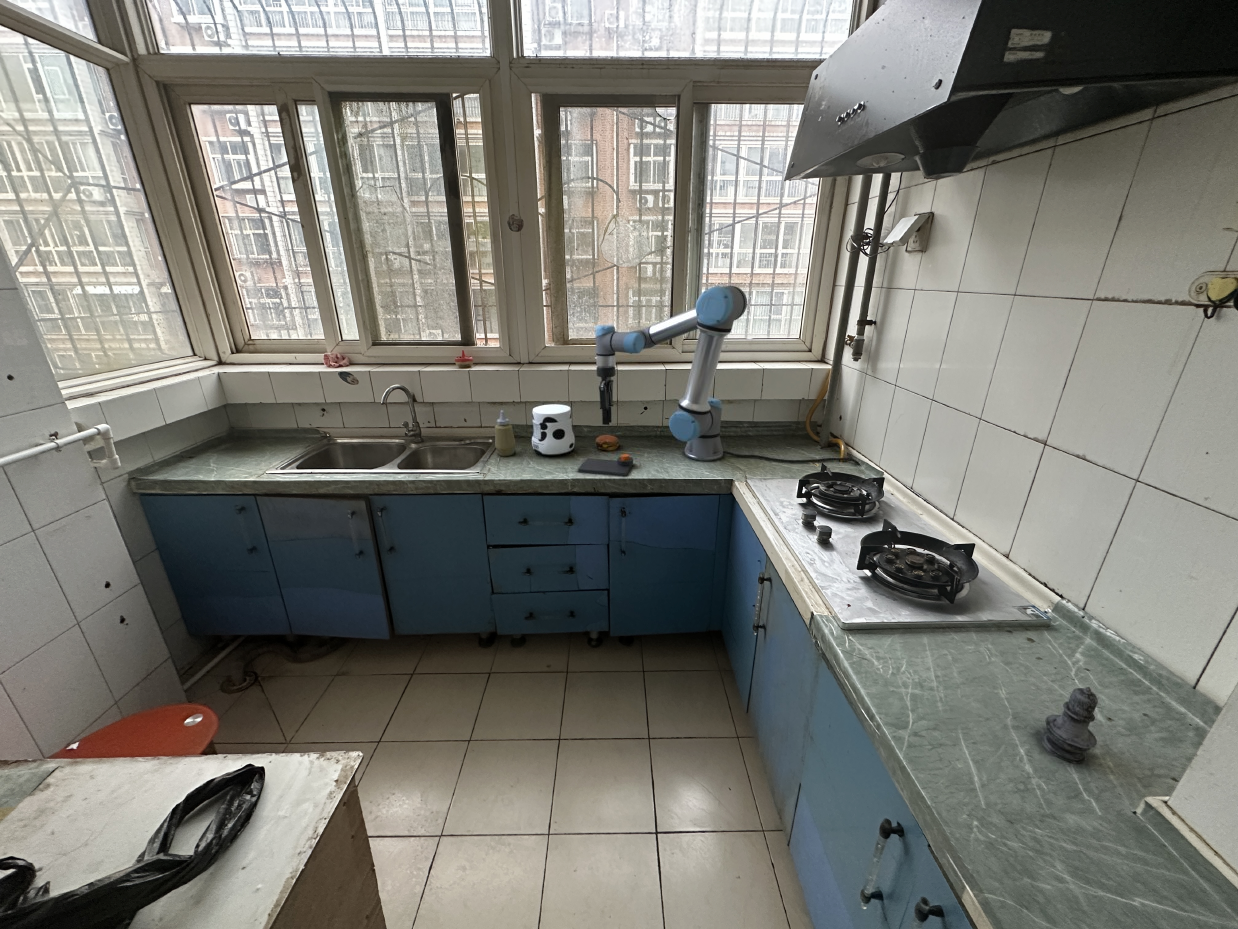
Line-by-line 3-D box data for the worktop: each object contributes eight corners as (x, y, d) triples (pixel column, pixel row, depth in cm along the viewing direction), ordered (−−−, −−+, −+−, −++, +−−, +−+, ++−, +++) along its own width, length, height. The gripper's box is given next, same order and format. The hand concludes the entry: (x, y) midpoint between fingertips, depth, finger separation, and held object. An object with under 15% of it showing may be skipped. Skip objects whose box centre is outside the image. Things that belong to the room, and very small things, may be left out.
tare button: (630, 458, 188) (630, 454, 187) (628, 461, 185) (628, 457, 185) (622, 458, 189) (622, 453, 188) (620, 460, 186) (620, 456, 185)
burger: (613, 442, 214) (613, 432, 213) (622, 449, 206) (622, 438, 205) (592, 445, 211) (591, 435, 209) (600, 452, 203) (600, 441, 201)
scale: (634, 464, 190) (634, 456, 189) (626, 476, 179) (626, 468, 178) (588, 460, 194) (588, 453, 193) (578, 472, 183) (577, 464, 182)
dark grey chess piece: (1047, 758, 74) (1072, 696, 70) (1032, 726, 79) (1055, 667, 75) (1096, 771, 72) (1126, 708, 68) (1078, 738, 77) (1104, 677, 73)
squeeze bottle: (519, 454, 201) (515, 411, 195) (500, 458, 197) (496, 414, 190) (511, 449, 207) (507, 407, 201) (493, 453, 203) (488, 410, 197)
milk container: (579, 445, 211) (578, 404, 204) (568, 460, 195) (566, 415, 188) (540, 443, 214) (537, 402, 207) (526, 457, 198) (523, 413, 191)
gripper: (602, 362, 204) (603, 417, 213) (590, 369, 190) (592, 428, 198) (620, 363, 202) (620, 418, 211) (609, 369, 188) (610, 429, 197)
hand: (607, 423), depth 205 cm, fingers open, 3 cm apart
